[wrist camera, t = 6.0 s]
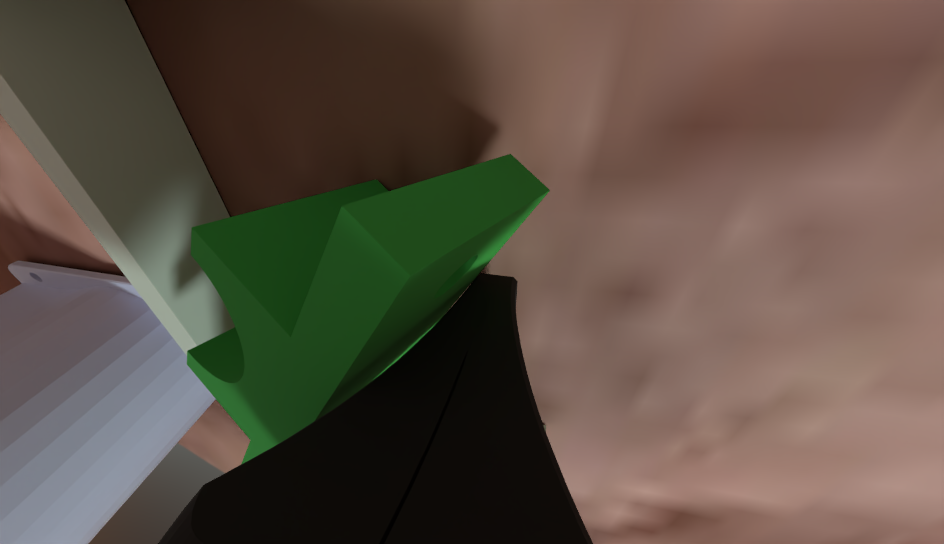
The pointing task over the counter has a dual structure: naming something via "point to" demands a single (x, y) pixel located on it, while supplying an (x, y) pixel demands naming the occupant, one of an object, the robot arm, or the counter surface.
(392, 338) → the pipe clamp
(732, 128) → the counter surface
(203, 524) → the robot arm
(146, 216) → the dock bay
